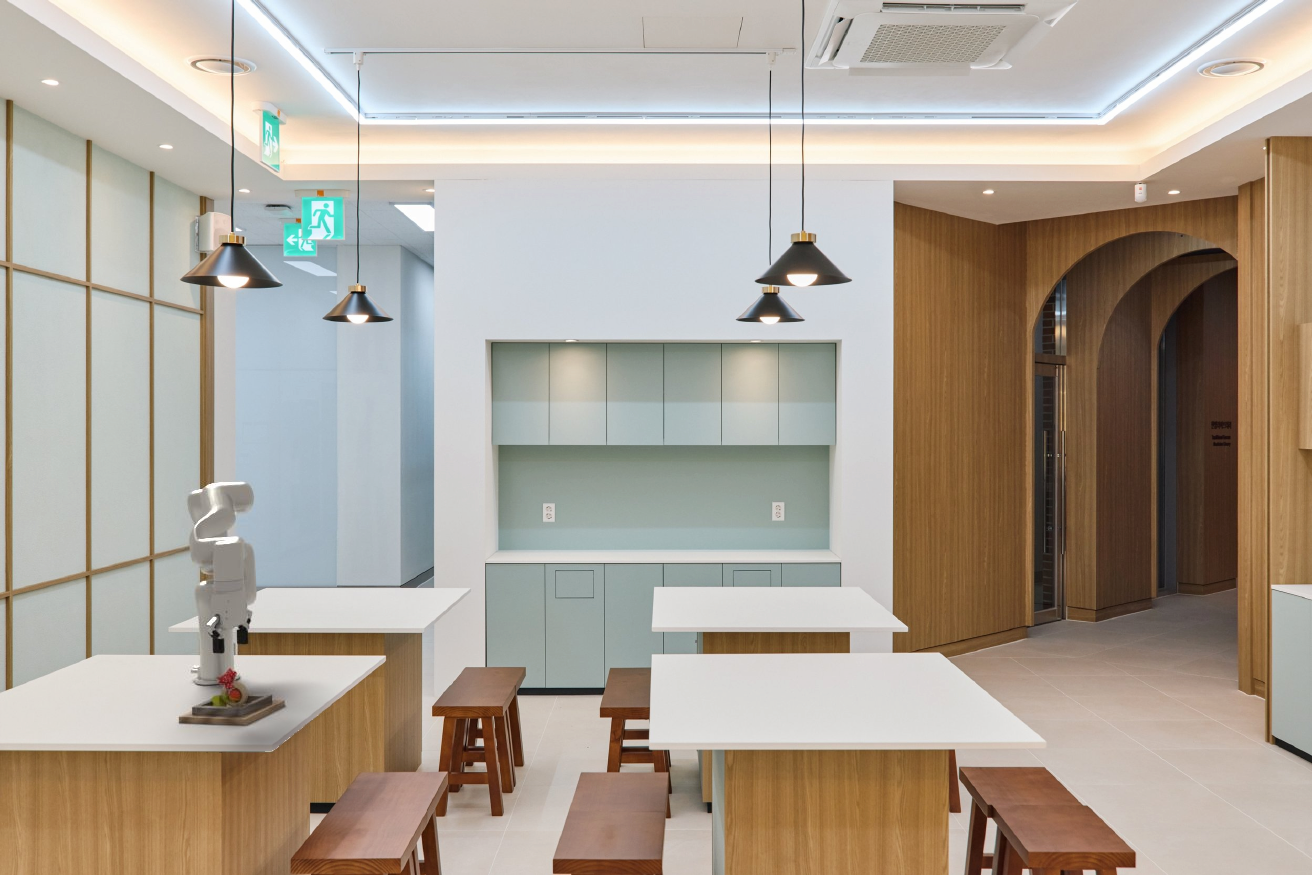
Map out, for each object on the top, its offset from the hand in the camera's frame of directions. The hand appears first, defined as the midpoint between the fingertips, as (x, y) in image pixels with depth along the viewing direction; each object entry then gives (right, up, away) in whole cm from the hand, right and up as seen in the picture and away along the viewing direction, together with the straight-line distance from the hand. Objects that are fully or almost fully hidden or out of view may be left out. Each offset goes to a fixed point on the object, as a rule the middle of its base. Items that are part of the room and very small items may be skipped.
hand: (230, 648), depth 246 cm
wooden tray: (+1, -18, 0) cm, 18 cm away
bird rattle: (+1, -16, -1) cm, 16 cm away
